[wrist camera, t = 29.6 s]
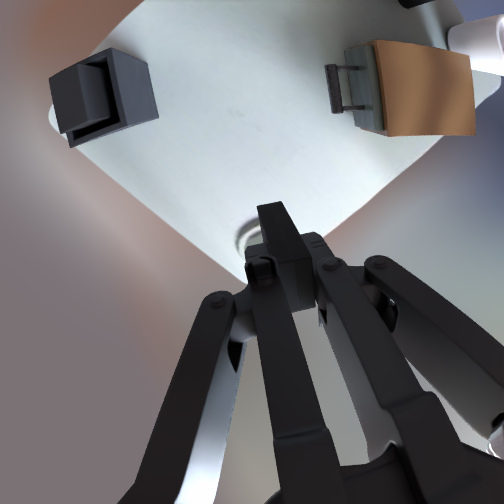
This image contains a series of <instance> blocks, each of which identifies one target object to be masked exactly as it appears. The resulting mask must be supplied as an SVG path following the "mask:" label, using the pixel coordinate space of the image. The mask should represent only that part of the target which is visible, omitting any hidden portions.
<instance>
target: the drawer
mask: <svg viewBox="0 0 504 504" xmlns="http://www.w3.org/2000/svg"><path fill="white" fill-rule="evenodd" d="M344 52H345V58H346V63H347V66H337V65H336V64H327V65H325V72H326V78H327V84H328V91H329V97H330V104H331V112H332V113H333V114H339V113H343V111H353V112H354V120H355V126H357V127H361V128H365V129H369V130H372V131H384V126H383V123H384V116H383V106H382V97H381V89H380V81H379V74H378V68H377V61H376V56H375V54H374V49H373V45H362V46H359V47H356V48H353V49H350V50H347V51H344ZM338 71H348V75H349V82H350V89H351V96H352V103H353V106H343V105H342V97H341V90H340V84H339V77H338Z"/></svg>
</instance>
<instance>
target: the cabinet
mask: <svg viewBox="0 0 504 504" xmlns="http://www.w3.org/2000/svg"><path fill="white" fill-rule="evenodd" d="M362 45H373V49H374V54H375V56H376V61H377V68H378V74H379V81H380V89H381V97H382V106H383V116H384V123H383V126H384V131H372V130H369V129H365V128H361V129H363V130H366V131H370V132H373V133H377V134H380V135H384V136H387V137H397V136H420V135H476V130H475V129H476V127H475V102H474V89H473V79H472V71H471V63H470V57H469V55H465V54H461V53H457V52H453V51H449V50H444V49H440V48H435V47H430V46H424V45H418V44H412V43H405V42H397V41H388V40H377V39H376V40H372V41H369V42H366V43H363V44H360V45H357V46H354V47H352V48H349V49H353V48H356V47H359V46H362Z"/></svg>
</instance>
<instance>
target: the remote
mask: <svg viewBox="0 0 504 504" xmlns="http://www.w3.org/2000/svg"><path fill="white" fill-rule="evenodd" d="M49 84H50V89H51V95H52V100H53V105H54V109H55V114H56V118H57V122H58V127H59V131H60V134H63V133H66V132H70V131H73V130H77V129H81V128H85V127H89V126H93V125H97V124H101V123H105V122H110V121H114V120H119V119H120V118H119V114H118V110H117V106H116V101H115V97H114V92H113V87H112V83H111V78H110V72H109V70H107V69H103V68H98V67H93V66H88V65H82V64H74V65H72V66H70V67H69V68H67V69H65V70H63V71H61V72H59V73H57V74H56V75H54V76H52V77H50V78H49Z"/></svg>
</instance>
